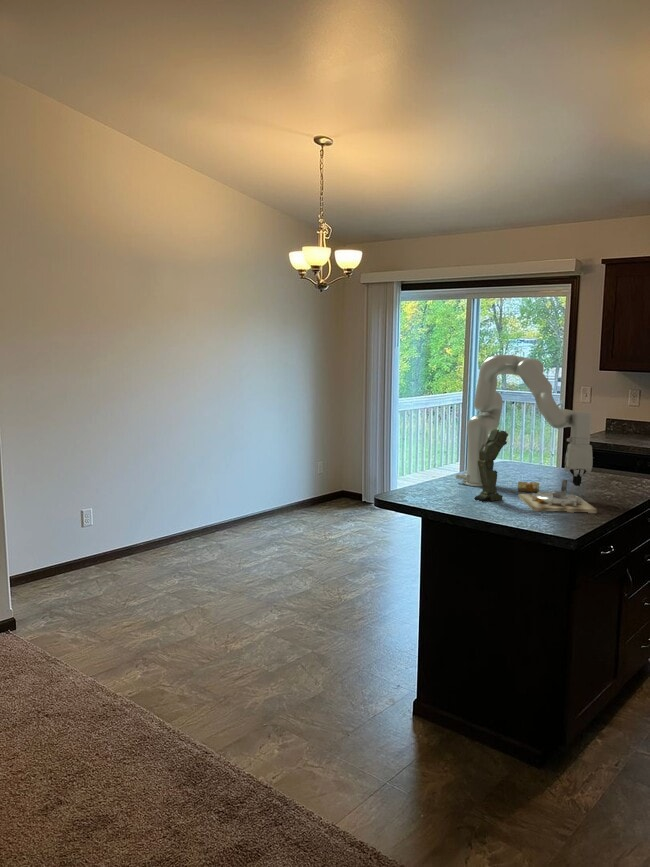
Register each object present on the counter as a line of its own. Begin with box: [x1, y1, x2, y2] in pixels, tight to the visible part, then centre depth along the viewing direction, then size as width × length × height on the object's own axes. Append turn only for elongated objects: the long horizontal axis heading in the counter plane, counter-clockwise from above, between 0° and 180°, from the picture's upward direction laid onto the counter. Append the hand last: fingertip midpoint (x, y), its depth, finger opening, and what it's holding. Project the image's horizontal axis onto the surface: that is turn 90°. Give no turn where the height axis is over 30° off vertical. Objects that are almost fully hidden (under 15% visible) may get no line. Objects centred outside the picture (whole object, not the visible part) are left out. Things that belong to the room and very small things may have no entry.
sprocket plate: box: [518, 493, 598, 514], centre depth 271 cm, size 24×24×2 cm
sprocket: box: [531, 479, 582, 506], centre depth 272 cm, size 19×21×6 cm
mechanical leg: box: [473, 428, 509, 503], centre depth 277 cm, size 14×7×30 cm, turn 118°
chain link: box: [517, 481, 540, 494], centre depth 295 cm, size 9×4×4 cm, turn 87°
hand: (576, 485), depth 281 cm, fingers closed
